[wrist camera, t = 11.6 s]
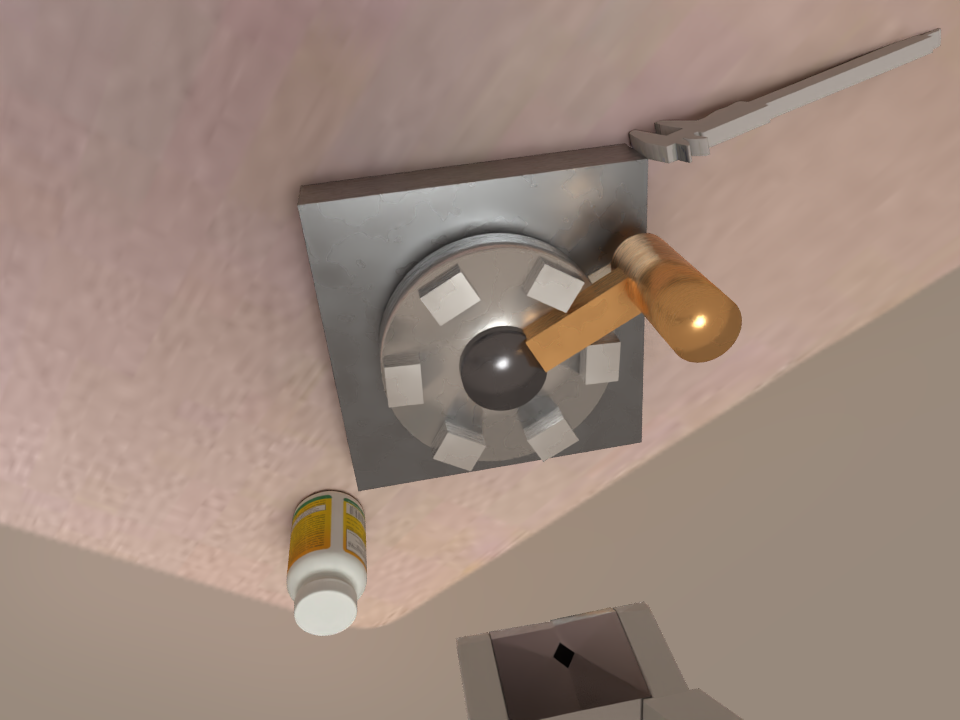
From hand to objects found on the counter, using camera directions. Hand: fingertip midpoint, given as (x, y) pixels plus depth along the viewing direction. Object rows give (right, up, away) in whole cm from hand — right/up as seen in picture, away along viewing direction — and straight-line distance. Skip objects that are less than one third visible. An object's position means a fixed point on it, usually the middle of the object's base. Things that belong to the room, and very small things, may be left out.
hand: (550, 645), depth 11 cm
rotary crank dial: (+2, +7, +34) cm, 35 cm away
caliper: (+18, +22, +35) cm, 45 cm away
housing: (-1, +8, +38) cm, 39 cm away
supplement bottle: (-13, -7, +45) cm, 47 cm away
